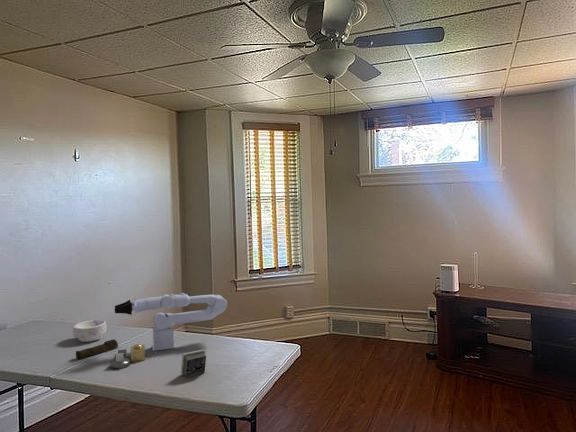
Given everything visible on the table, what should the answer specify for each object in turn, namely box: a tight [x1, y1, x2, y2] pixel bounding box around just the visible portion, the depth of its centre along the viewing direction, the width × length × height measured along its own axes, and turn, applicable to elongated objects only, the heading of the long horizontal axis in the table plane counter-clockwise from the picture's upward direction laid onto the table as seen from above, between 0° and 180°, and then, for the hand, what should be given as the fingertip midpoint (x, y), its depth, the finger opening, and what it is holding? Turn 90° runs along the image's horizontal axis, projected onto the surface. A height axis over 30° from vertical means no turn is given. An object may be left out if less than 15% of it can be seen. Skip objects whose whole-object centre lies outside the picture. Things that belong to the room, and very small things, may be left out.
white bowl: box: [72, 319, 107, 343], centre depth 219 cm, size 15×15×8 cm
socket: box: [130, 343, 146, 363], centre depth 189 cm, size 6×6×6 cm
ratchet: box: [109, 348, 131, 371], centre depth 187 cm, size 20×8×5 cm, turn 17°
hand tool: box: [75, 339, 119, 361], centre depth 197 cm, size 19×4×5 cm, turn 139°
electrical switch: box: [180, 348, 207, 378], centre depth 170 cm, size 9×5×9 cm, turn 122°
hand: (114, 309), depth 195 cm, fingers open, 7 cm apart
